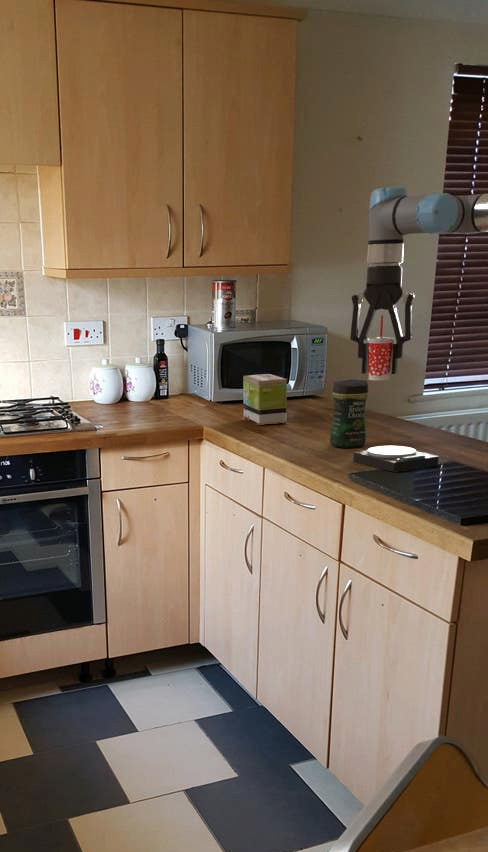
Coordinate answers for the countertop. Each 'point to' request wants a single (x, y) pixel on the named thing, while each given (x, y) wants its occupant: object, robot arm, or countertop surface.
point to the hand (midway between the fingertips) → (379, 372)
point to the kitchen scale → (395, 458)
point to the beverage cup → (380, 356)
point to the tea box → (265, 398)
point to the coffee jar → (349, 413)
